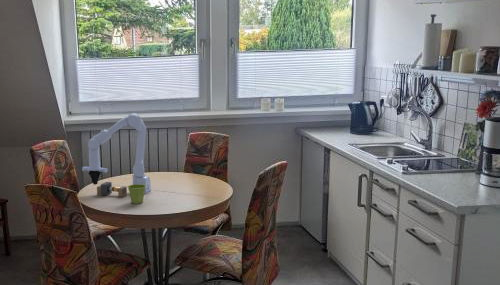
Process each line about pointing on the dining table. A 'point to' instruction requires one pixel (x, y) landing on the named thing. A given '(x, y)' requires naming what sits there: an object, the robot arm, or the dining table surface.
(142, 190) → the plant pot
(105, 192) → the gray square nut
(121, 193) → the brown dumbbell
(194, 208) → the dining table surface
